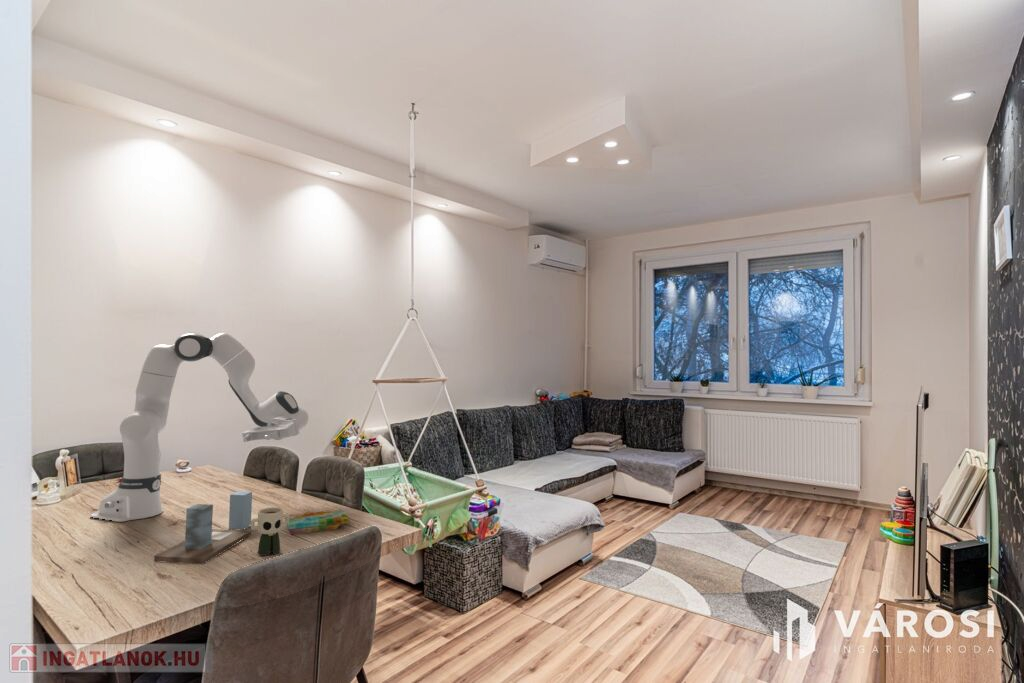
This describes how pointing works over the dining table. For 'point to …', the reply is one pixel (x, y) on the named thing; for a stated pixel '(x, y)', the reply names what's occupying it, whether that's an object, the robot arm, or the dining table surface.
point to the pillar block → (240, 510)
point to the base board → (204, 552)
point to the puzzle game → (316, 521)
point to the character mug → (269, 529)
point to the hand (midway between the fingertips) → (255, 438)
